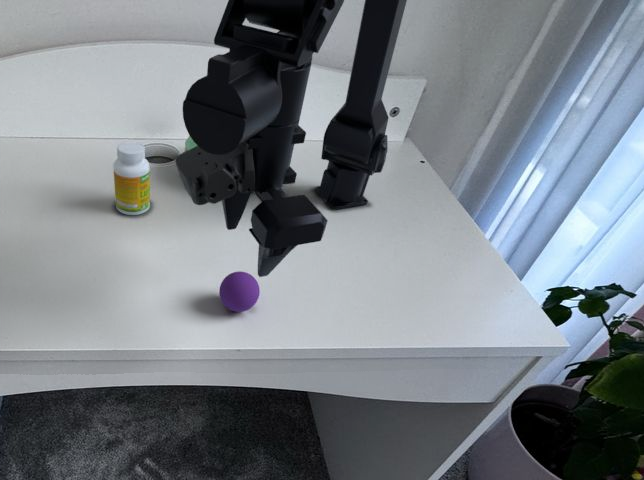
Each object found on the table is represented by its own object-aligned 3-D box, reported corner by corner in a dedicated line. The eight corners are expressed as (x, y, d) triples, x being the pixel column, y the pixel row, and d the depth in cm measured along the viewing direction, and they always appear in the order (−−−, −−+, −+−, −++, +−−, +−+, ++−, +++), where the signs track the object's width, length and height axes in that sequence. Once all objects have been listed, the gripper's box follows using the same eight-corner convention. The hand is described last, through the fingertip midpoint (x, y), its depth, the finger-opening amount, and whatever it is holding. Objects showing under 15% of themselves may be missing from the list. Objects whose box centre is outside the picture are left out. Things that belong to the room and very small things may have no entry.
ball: (247, 290, 67) (252, 260, 63) (262, 315, 63) (269, 285, 60) (211, 297, 65) (215, 267, 62) (226, 323, 62) (230, 292, 59)
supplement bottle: (145, 218, 77) (144, 158, 70) (111, 213, 78) (107, 153, 70) (153, 200, 81) (153, 141, 73) (121, 195, 81) (117, 136, 74)
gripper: (157, 82, 50) (156, 217, 62) (225, 173, 39) (209, 318, 50) (258, 74, 53) (239, 204, 65) (351, 156, 41) (307, 298, 53)
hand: (246, 251), depth 58 cm, fingers open, 9 cm apart
